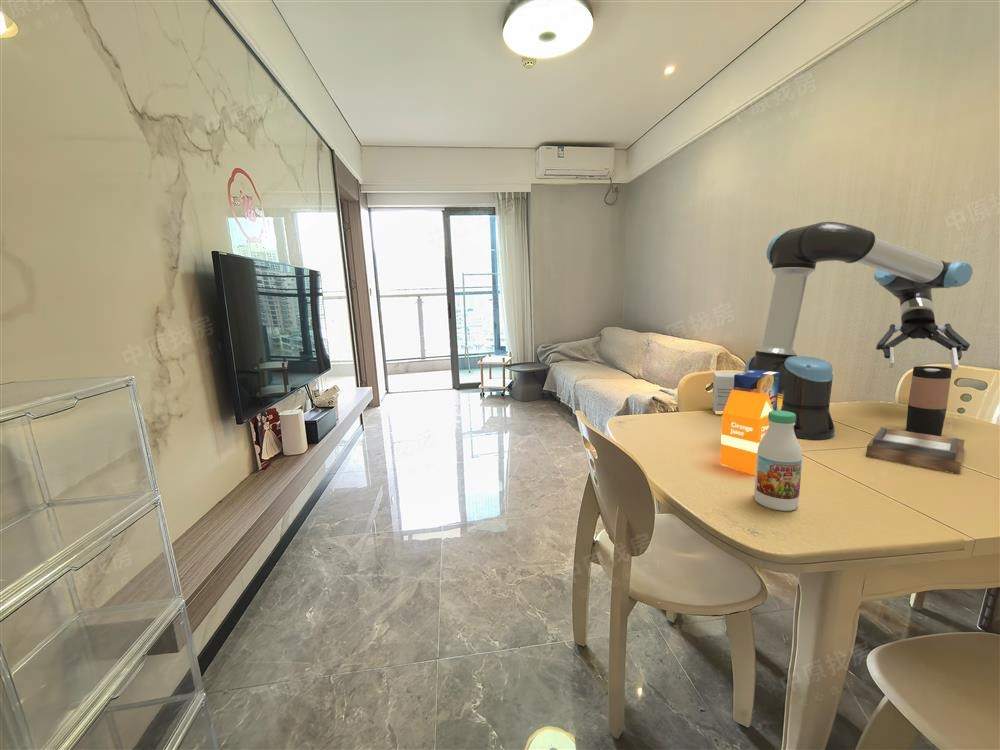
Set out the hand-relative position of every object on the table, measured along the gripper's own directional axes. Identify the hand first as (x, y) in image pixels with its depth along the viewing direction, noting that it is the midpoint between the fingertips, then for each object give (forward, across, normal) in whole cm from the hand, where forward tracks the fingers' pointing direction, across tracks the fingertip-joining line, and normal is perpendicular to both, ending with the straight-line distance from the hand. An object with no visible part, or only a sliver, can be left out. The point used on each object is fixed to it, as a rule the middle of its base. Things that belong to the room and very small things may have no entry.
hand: (922, 366), depth 120 cm
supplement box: (+20, +51, -7) cm, 56 cm away
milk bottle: (+69, +34, +42) cm, 87 cm away
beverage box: (+45, +40, +19) cm, 63 cm away
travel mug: (+21, 0, -6) cm, 22 cm away
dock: (+34, +5, +8) cm, 36 cm away
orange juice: (+56, +41, +30) cm, 76 cm away
